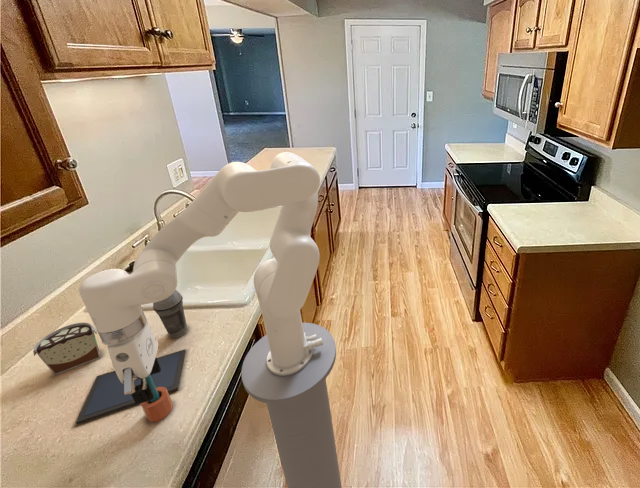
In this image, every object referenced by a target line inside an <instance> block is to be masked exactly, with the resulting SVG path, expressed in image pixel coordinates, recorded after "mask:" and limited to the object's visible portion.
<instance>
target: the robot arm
mask: <svg viewBox="0 0 640 488" xmlns="http://www.w3.org/2000/svg"><path fill="white" fill-rule="evenodd" d="M320 185H321V177H320V173H319V170H317V167H315V166H313V165H312V164H311V163H310V162H308V161H307V160H306V159H304V158H303V157H301V156H300V155H298V154H296V153H294V152H290V151H283V152H280V153H277V154H276V155H275V156H274V157H273V158H272V160H271V163H270V168H268V169H261V170H260V169H259V170H257V169H255V168H254V167H253V166H251V165H250V164H248V163H245V162H242V161H231V162H229V163H227V164H225V165H224V166H222V168H221V169H220V170H219V171H218V172H217V173H216V174H215V175H214V176H213V177H212V178H211V179H210V180H209V182H208V183H207V184H206V186H204V188H203V189H202V190H201V191H200V192H199V193H198V195H197V196H196V197H195V198H194V199H193V200H192V201H191V202H190V204H189V205H187V206H186V208H185V209H184V210H183V211H182V212H181V213H180V214H177V215H176V216H175V217H174V218H173V219H171V220H170V221H169V222H167V223H166V224H165V225H164V226H162V227H161V228H160V229H159V230H158V231H157V232H156V233H155V235H154V236H153V237H151V239H150V240H149V241H148V242H147V244H146V245H145V246H144V247H143V248H142V249H141V251H140V252H139V254H137V256H136V258H135V260H134V263H133V267H132V272H131V273H128V272H127V271H126V270H125V269H122V268H109V269H104V270H102V271H99V272H95V273H94V274H91V275H90V276H88V277H87V278H85V279H84V280H83V281H82V282H81V283H80V285H79V288H78V293H79V296H80V298H81V301H82V302H83V305H84V307H85V309H86V311H87V313H88V315H89V317H90V319H91V321H92V324H93V326H94V328H95V329H96V330H97V334H98V336H99V339H100V340H101V342H102V344H103V345H105V346H107V351H108V354H109V358H110V361H111V364H112V367H113V369H114V371H115V372H116V374H117V376H118V378H119V380H120V381H121V383H123V384H124V394H125V395H127V394H131V395H132V397H133V399H134V401H135V403H136V405H141V403H143V402H146V401H149V400H152V399H153V398H154V395H153V392H152V390H151V388H150V386H149V384H146V379H145V377H148V376H149V374H150V375H152V374H156V373H159V372H160V371H161V367H160V365H159V362H158V360H157V358H158V357H157V354H158V350H159V342H158V339H157V336H156V335H155V333H154V330H153V329H152V327H151V325H150V323H149V321H148V320H147V316H146V315H145V313H144V310H143V307H142V306H143V305H149V304H150V305H151V304H153V303H155V302H159V301H162V300H164V299H166V298H168V297H170V296H171V295H172V294H173V293H174V291H175V290H177V287H178V274H177V263H178V261H179V260H180V259H181V258H182V256H184V255H185V253H186V252H187V251H188V249H190V247H191V246H193V245H194V244H195V243H196V242H197V241H199V240H200V239H201V240H202V239H203V238H207V237H211V238H213V237H217V236H219V235H220V234H221V233H223V231H224V230H225V229H226V227H227V226H228V225H229V224H230V223H231V221H232V220H233V219H234V218H235V217H236V216H237V214H238V213H239V212H241V213H254V212H258V211H259V212H260V211H264V210H269V209H272V208H278V207H280V211H279V215H278V218H277V220H276V223H275V225H274V227H273V230H272V234H271V237H270V240H269V249H270V252H271V254H272V256H273V258H270V259H266V260H264V261H263V262H261V264H259V265H258V266H257V267H256V269H255V272H254V275H253V286H254V290H255V294H256V298H257V300H258V304H259V307H260V312H261V316H262V322H263V325H264V328H265V335H267V339H268V343H269V347H270V351H269V353H268V356H267V360H266V362H267V366H268V369H269V370H270V371H271V372H272V373H273V374H275V375H280V376H285V375H290V374H294V373H296V372H298V371H299V370H301V369H302V368H304V367H305V366H306V365H307V364H308V362H309V361H310V359H311V357H312V353H313V350H312V348H314V347H316V346H317V347H318V346H321V345H323V342H322V338H320V339H317V336H316V334H315V335H312V336H310V337H308V336H307V337H306V336H305V332H304V330H303V324H302V323H303V319H302V313H301V310H302V308H303V306H304V304H305V303H306V301H307V299H308V296H309V294H310V291H311V288H312V285H313V283H314V279H315V276H316V274H317V271H318V269H319V265H320V258H321V253H320V249H319V247H318V245H317V243H316V242H315V241H314V239H313V238H312V237H311V231H312V227H313V225H314V221H315V218H316V214H317V211H318V206H319V193H318V191H319V188H320ZM315 339H317V340H315ZM311 340H315V341H312V342H311ZM134 374H135V375H136V376H134ZM138 379H140V381H141V384H140V385H137V386H135V385H134V381H135V380H138Z"/></svg>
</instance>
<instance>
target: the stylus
mask: <svg viewBox="0 0 640 488" xmlns="http://www.w3.org/2000/svg"><path fill="white" fill-rule="evenodd" d="M145 379H146V384H149V386H150V388H151V390H152V392H153V395H154V398H153V399H152V400H150V402H151V403H153V402H155V401H157V400H158V399H159V398H160V396H159V394H158V391H157V389H156V387H155V384H154V382H153V380H152V377H151V375H150V374H149V376H148V377H145Z"/></svg>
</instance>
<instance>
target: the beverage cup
mask: <svg viewBox="0 0 640 488" xmlns="http://www.w3.org/2000/svg"><path fill="white" fill-rule="evenodd" d="M183 299H184V298H183V295H182V294H181V292H179V291H178V290H177V289H176V290H175V291H174V293H173V294H172V295H171V296H170V297H168V298H166V299H164V300H162V301H159V302H155V303H152V309H153V310H154V312H155V313H156V315H158V317H159V319H160V321H161V323H162V325H163V327H164V328H165V330H166V332H167V333H168V335H169V337H170V338H171V339H179V338H181V337H182V336H184V335H185V334H186V333H187V332H188V326H187V319H186V315H185V310H184V306H183V305H184V304H183V303H184V301H183Z"/></svg>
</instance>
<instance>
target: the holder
mask: <svg viewBox="0 0 640 488" xmlns="http://www.w3.org/2000/svg"><path fill="white" fill-rule="evenodd" d="M156 389H157V391H158V394H159V396H160V398H159V399H158V400H157V401H155V402H153V403H151V402H150V400H149V401H146V402H143V403H140V406H141V409H142V411H143V413H144V415H145V417H146V419H147V421H148V422H150V423H157V422H160V421H161V420H164V418H166V417H168V416H169V414H171V411H172V410H173V407H174V404H173V401H172V398H171V396H170V393H168V391H167V389H166V388H165V387H158V388H156Z"/></svg>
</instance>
